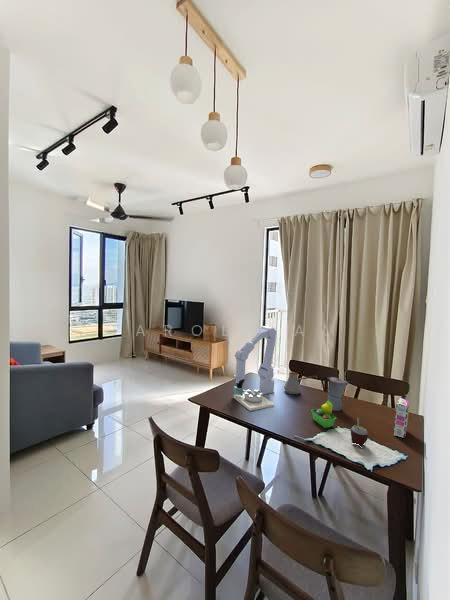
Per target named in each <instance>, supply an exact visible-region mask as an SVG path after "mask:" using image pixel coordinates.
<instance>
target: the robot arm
mask: <svg viewBox="0 0 450 600" xmlns="http://www.w3.org/2000/svg"><path fill="white" fill-rule="evenodd" d="M276 336H277V330H276V328H275V327H270V326H265V325H261V327H260V328H259V329H258V332H257V333H256V334H255V336H253V338H252V339H251V341H246V342H245V344H244V345H243V346H242V347H241V348H240V349H238V350H237V351H236V352H235V353H234V357H235V361H236V365H235V374H234V375H233V377H234V378H235V379H234V382H235V384H236V387H239V388H243V385H244V383H245V380H246V379H245V378H246V363H247V360H248V359H249V355H250V354H251V352H252V351H253V350H254V349H255V346H256V344H258V343H259V342H260V341H261V340H262V339H264V338H265V339H266V347H265V352H264V357H263V362H262V363H261V364H260V365H259V368H258V370H257V374H258V376H259V377H258V378H259V387H258V388H257V389H256V390H258V392H259V393H263V395H266V394H267V395H268V394H274V393H275V380H274V379H273V378H274V375H275V374H274V371H275V370H274V367H273V366H272V363H273V357H274V356H273V355H274V351H275V347H276V340H277V339H276V338H277V337H276Z"/></svg>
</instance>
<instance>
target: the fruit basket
mask: <svg viewBox="0 0 450 600" xmlns="http://www.w3.org/2000/svg"><path fill="white" fill-rule="evenodd" d="M332 407H333V405H332V404H331V402H329V401H327V400H326V402H325V403H323V404H322V405H321V407H320V408H314V409H311V413H312V414H311V415H312V419H313V420H314V421H315V422H316V423H317V424H319V425H320V426H322V427H323V428H324V429H326V428H331V427H333V425H334V423H335V421H336V420H337V417H336V416H334V415H333V414H332V412H333V410H332Z"/></svg>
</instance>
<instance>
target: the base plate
mask: <svg viewBox="0 0 450 600" xmlns="http://www.w3.org/2000/svg"><path fill="white" fill-rule="evenodd" d="M244 395H245V394H244V393H243V396H241V395H236V394H233V399H234V400H236V401H237V402H238V403H239V404H241V406H243V407H244V408H246V409H247V410H248V411H249V412H251V411H256V410H260V409H266V408H267V409H268V408H272V407H274V406H275V403H274V402H272V401H271V400H269V399H267V398H266V397H265V396H263V398H262V401H261V402H259V403H252V402H248V401H246V400H245V399H244Z"/></svg>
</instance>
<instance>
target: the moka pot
mask: <svg viewBox="0 0 450 600" xmlns="http://www.w3.org/2000/svg"><path fill="white" fill-rule="evenodd" d="M324 381H327V382H328V390H326V388H325V382H324ZM320 382H321V385H322V386H321V387H322V390H323V391H322V392H324V393H326V394H327V393H328V396H327V399H326V402H327V401H329V402H331V404H332V405H333V407H332V411H333V412H334V411H336V412H340V411H342V400H343V398H342V397H343V394H344V391H345V389H346V388H347V385H349V384H350V383H349V381H347V380H344V379H343V378H340V375H336V377H327V376H324V377H323V378H322V379H320Z"/></svg>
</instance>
